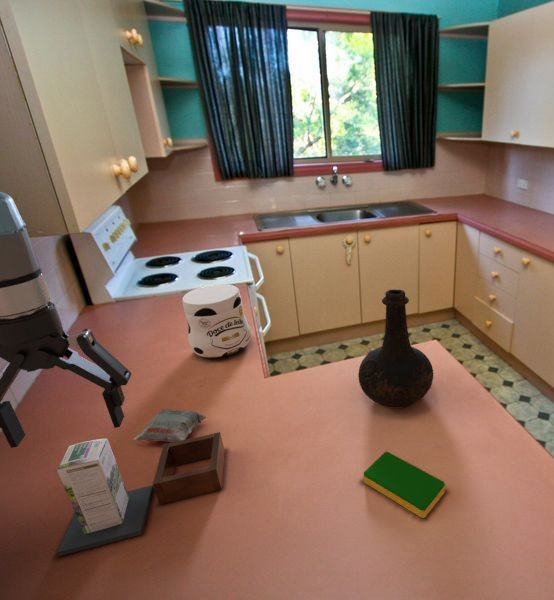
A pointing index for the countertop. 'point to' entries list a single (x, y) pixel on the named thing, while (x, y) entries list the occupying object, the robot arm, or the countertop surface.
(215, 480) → the holder
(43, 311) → the robot arm
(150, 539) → the countertop surface
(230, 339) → the doce de leite jar
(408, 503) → the dish sponge
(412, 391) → the glass bottle
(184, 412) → the packaged food
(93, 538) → the mat
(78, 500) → the syrup box
